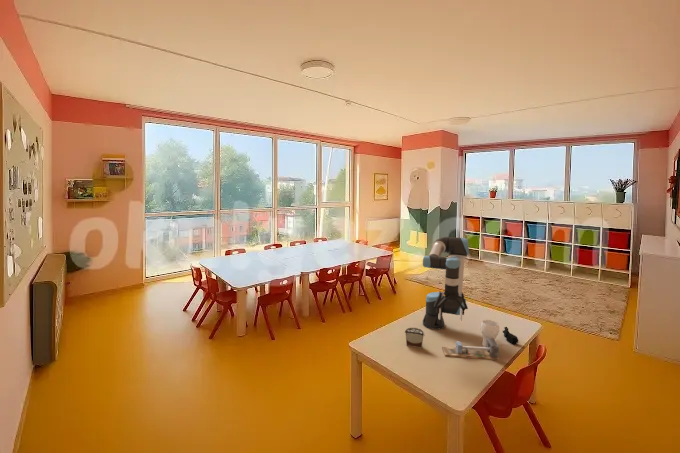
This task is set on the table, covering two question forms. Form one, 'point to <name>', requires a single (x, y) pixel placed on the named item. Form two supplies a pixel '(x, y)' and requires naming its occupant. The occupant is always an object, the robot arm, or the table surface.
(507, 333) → the toy
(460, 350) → the grey hammer
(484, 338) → the cup
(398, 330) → the table surface
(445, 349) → the gauge bed
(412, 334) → the food container
